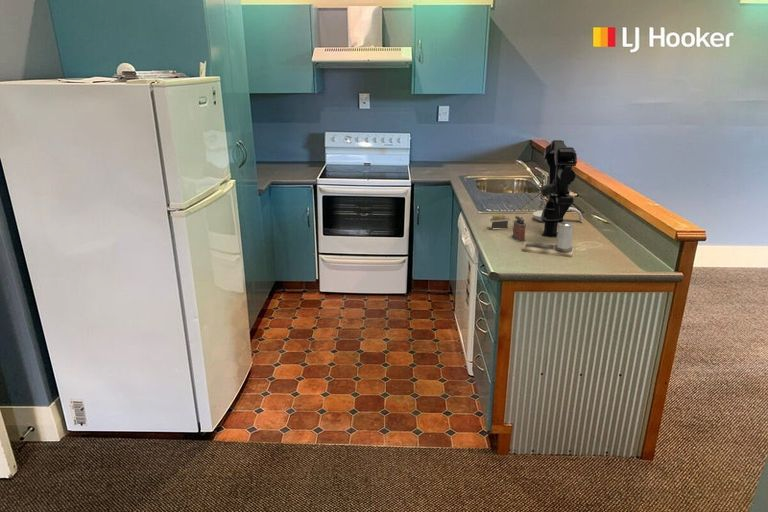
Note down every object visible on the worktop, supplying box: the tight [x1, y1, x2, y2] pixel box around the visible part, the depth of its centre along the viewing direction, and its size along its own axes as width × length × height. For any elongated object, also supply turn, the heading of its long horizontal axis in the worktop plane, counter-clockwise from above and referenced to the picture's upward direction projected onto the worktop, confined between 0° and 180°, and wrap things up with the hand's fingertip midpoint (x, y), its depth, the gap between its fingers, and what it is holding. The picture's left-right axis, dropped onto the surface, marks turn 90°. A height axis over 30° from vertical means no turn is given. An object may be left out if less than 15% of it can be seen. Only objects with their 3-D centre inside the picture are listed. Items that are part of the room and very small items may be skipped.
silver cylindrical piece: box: [555, 221, 574, 249], centre depth 222 cm, size 6×6×10 cm
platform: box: [489, 214, 511, 230], centre depth 256 cm, size 12×18×7 cm, turn 104°
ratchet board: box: [520, 241, 575, 258], centre depth 226 cm, size 20×10×5 cm, turn 67°
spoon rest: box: [532, 206, 584, 223], centre depth 267 cm, size 24×12×7 cm, turn 80°
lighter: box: [511, 215, 527, 243], centre depth 240 cm, size 8×3×10 cm, turn 17°
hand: (558, 215), depth 230 cm, fingers open, 9 cm apart
